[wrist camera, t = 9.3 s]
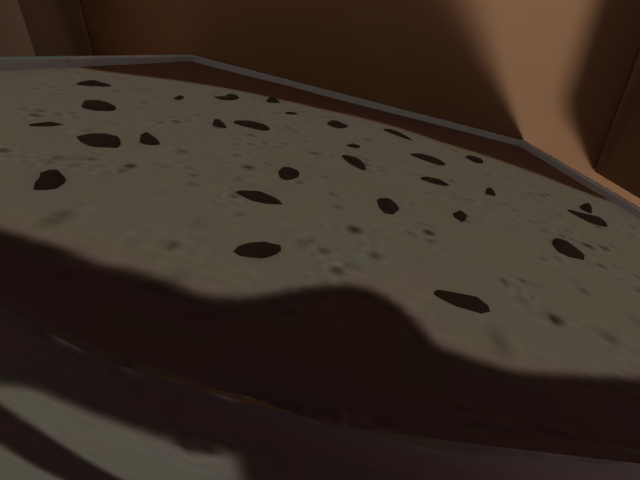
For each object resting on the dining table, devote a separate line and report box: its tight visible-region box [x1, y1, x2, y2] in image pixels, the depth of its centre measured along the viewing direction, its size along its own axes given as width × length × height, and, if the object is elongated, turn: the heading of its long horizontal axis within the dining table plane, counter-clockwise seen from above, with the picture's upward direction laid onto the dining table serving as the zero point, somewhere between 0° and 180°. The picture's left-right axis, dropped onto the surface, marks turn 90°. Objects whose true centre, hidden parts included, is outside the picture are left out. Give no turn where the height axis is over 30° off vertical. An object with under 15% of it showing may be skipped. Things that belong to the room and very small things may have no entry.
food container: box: [0, 54, 640, 480], centre depth 7 cm, size 12×6×10 cm, turn 78°
